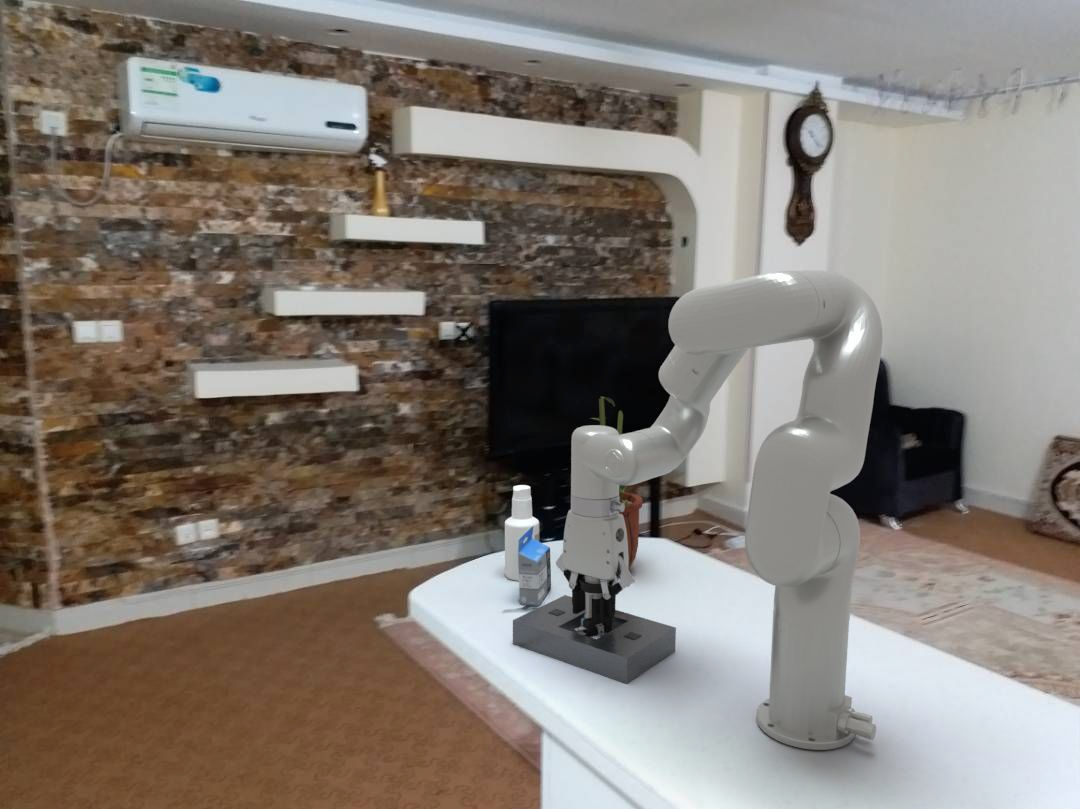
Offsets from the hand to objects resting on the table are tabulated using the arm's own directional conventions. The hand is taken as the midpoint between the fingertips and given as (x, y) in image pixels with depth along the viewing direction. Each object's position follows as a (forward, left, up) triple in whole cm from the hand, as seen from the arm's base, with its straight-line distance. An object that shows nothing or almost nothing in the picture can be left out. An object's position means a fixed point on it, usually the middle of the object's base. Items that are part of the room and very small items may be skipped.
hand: (593, 614), depth 139 cm
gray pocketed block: (0, 0, -6) cm, 6 cm away
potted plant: (+16, -32, -6) cm, 36 cm away
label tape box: (+21, -11, -6) cm, 24 cm away
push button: (0, 0, -4) cm, 4 cm away
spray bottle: (+30, -18, -6) cm, 35 cm away
